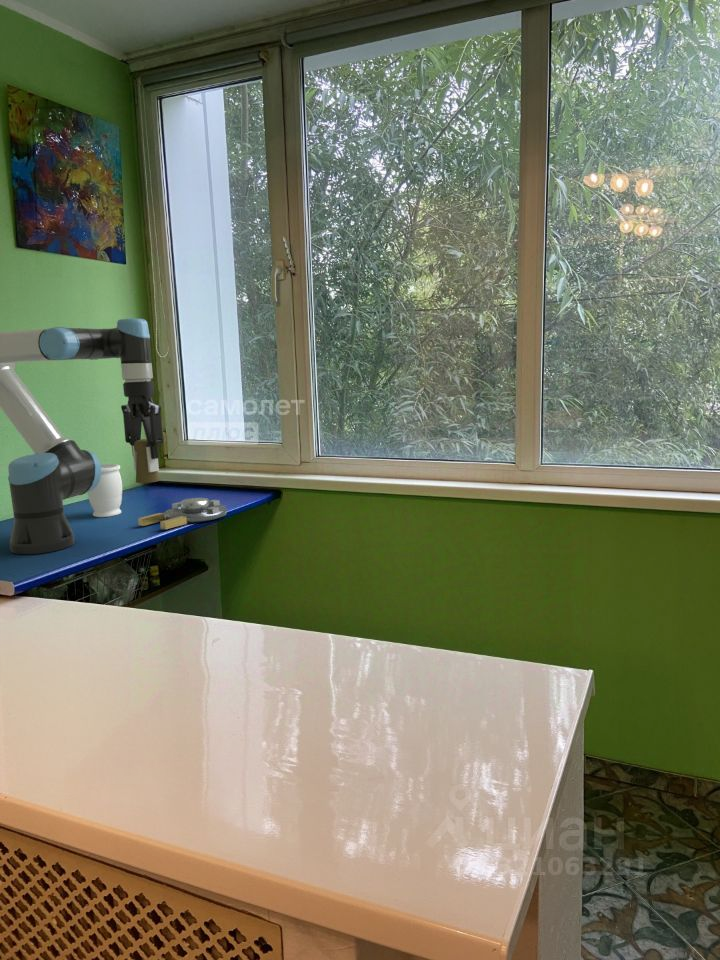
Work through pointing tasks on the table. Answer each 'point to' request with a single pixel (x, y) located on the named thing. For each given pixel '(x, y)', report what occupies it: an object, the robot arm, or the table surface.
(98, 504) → the jar
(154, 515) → the grey disc with block
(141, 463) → the cork
